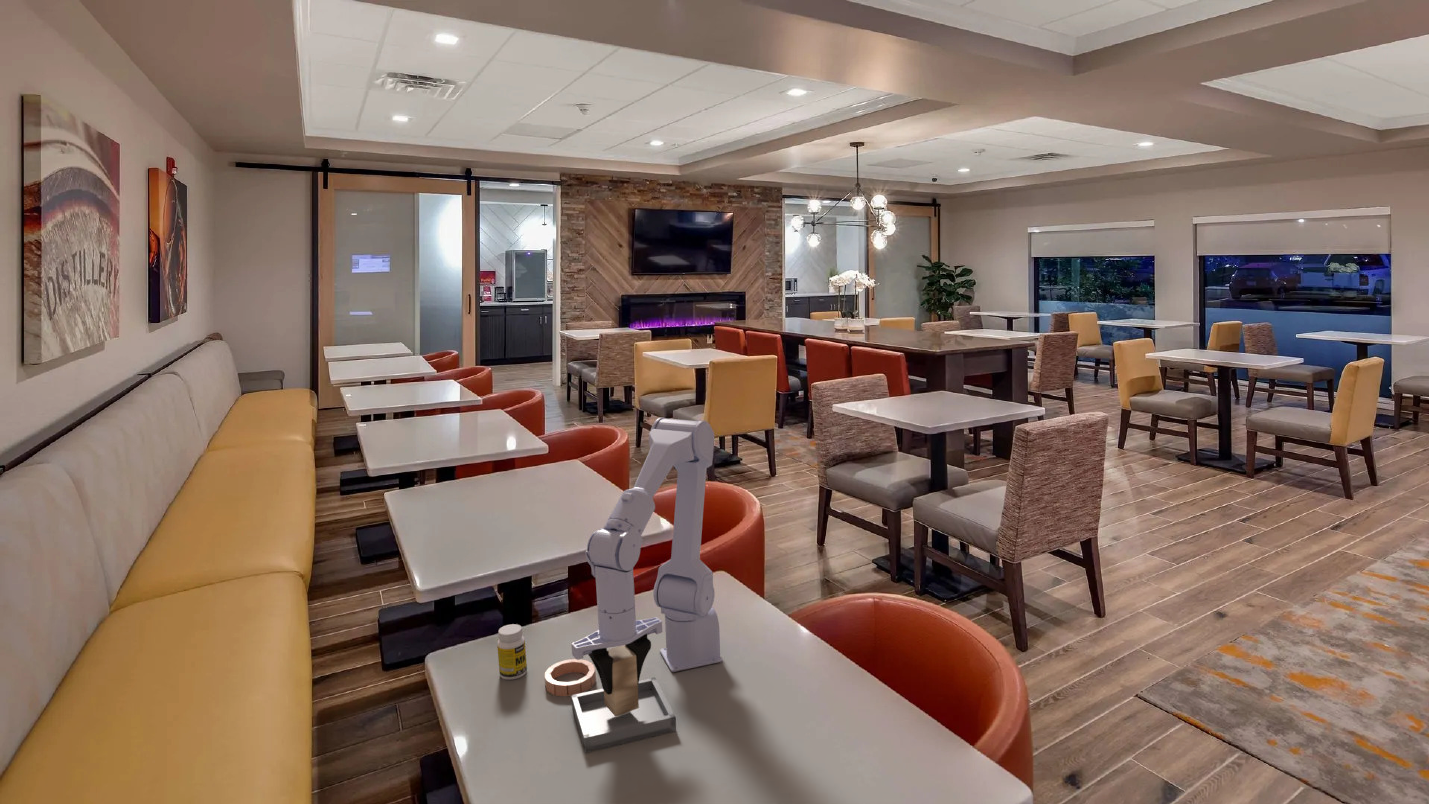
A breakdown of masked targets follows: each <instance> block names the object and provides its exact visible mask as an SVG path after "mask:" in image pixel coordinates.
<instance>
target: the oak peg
mask: <svg viewBox="0 0 1429 804" xmlns="http://www.w3.org/2000/svg"><path fill="white" fill-rule="evenodd" d="M607 651H609V655H610V656H611V657H612V658H613V665H612V694H609V695H608V694H607V693H606V692H605V691H604V700H605V705H606V707H607V708H608V709H609V710H610V711H611V712H612V713H613V714H614V716H615V717H616V716H619V715H622V714H624V713H627V712H630V711H632V710H635V709H638V708H639V701H638V682H637V663H636V655H635V654H634V653H633V652H632V651H631V650H630V649H629V648H628V647H627V646H626V645H623V646H616V647H612V648H610V649H607Z"/></svg>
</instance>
